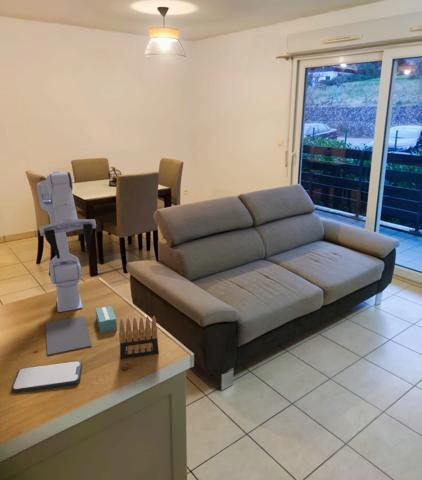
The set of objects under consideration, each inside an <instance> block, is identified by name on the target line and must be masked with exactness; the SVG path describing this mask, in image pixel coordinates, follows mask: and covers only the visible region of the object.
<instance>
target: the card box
mask: <svg viewBox="0 0 422 480" xmlns="http://www.w3.org/2000/svg"><path fill="white" fill-rule="evenodd" d="M95 317H96V322H97V325H98V328H99V331H100V333H106V332H111V331H115V330H116V331H117V330H118V326H117V318H116V315H115V312H114V310H113V308H112V305H108V306H102V307H97V308H95Z"/></svg>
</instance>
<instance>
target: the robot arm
mask: <svg viewBox="0 0 422 480" xmlns="http://www.w3.org/2000/svg"><path fill="white" fill-rule="evenodd" d="M73 188H74V183H73V177H72V174H71V172H69V171H66V172H64V171H63V172H60V171H54V172H53V171H52V172H49V174H47V175H46V179H44V180H41V181H39V182H38V183H37V184H36V190H37V199H38V203H39V206H40V208H41V210H43V211H46V212H47V214H48V216H49V221H50V223H49V224H45V225H41V226H38V227H39V234H40V236H41V237H45V240H46V242H47V243H48V244H49V245H50V247H51V248H52V250H53V251H54V254H55V256H54V257H53V258H52V259H50V261H49V263H48V266H49V269H48V270H49V276H50V282H51V284H52V285H55V289H56V290H55V291H56V297H57V298H56V299H55V300H56V306H57V307H56V308H57V313H63V312H68V311H74V310H79V309H82V308H83V304H82V299H81V296H80V289H79V283H80V282H79V281H80V280H81V279H82V278H83V271H82V266H81V263H80V259H79V258H78V257H77V256H76V255H74V254H72V253H70V250H69V249H70V248H69V244H68V237H67V233H68V232H73V231H79V230H82V231H83V237H84V242H85V249H86V254H87V255H88V254H90V253H91V247H90V243H91V239H92V235H93V229H96V228H97V224H96V223H97V222H96V219H95V218H94V219H93V218H91V219H87V218H86V219H84V218H83V219H82V218H81V219H80V218H78V214H77V209H76V204H75V200H74V194H73V190H74V189H73Z"/></svg>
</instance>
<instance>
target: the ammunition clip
mask: <svg viewBox="0 0 422 480" xmlns="http://www.w3.org/2000/svg"><path fill="white" fill-rule="evenodd" d="M132 320H133V321H132V324H131V321H130V319H129V318H127V320H126V323H125V324H124V320H123V319H120V320H119V335H118V336H119V357H120V358H119V359H120V360H125V359H133V358H139V357H146V356H153V355H159V353H160V352H159V351H160V350H159V342H158V327H157V319H156V316H155V315H153V316H152V319H151V320H150V317H149V316H146V318H145V326H144V319H143V317H142V316H141V317H140V318H139V323H138V322H137V319H136V317H134V318H133V319H132ZM131 325H132V327H131ZM138 325H139V326H138ZM125 329H126V330H125Z"/></svg>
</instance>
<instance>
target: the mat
mask: <svg viewBox="0 0 422 480" xmlns="http://www.w3.org/2000/svg"><path fill="white" fill-rule="evenodd" d="M85 316H86V315H82V316H75V317H71V318H70V317H69V318H66V319H61V320H54V321H48V322H45V338H46V355H47V356H53V355H57V354H62V353H63V354H64V353H67V352H72V351H77V350H81V349H82V350H83V349H86V348H90V347H92V341H91V338H90V332H89V328H88V325H87V320H86V317H85Z"/></svg>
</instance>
